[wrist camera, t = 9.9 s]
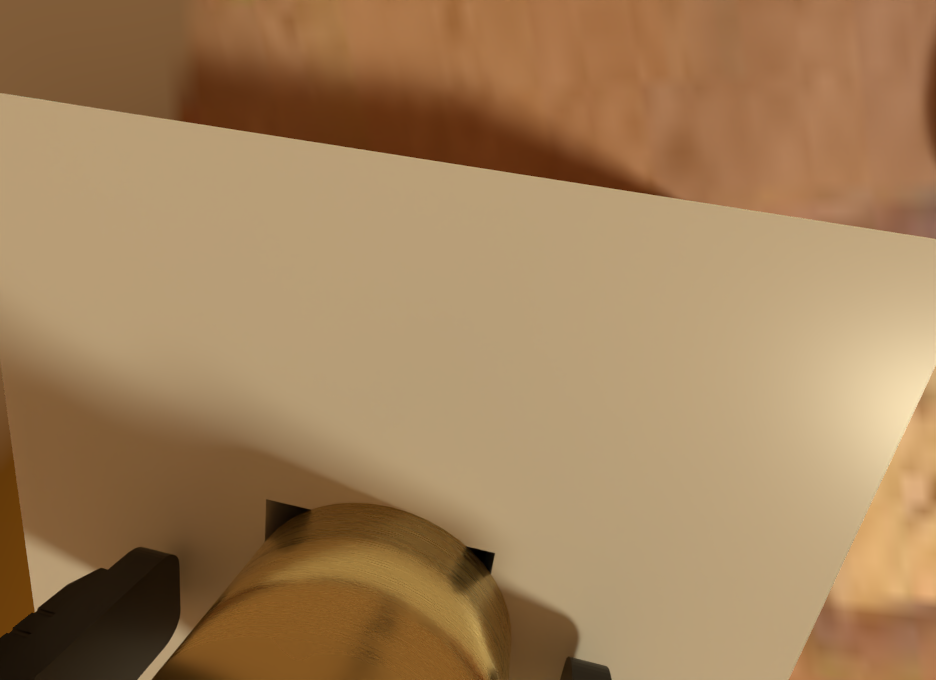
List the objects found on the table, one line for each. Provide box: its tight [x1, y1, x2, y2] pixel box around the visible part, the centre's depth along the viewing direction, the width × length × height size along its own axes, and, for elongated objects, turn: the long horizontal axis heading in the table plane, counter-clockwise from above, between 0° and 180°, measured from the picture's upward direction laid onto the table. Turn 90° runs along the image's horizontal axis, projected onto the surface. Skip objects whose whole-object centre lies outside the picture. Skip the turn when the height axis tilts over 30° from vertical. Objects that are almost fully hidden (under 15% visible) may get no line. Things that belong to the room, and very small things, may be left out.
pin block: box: [0, 93, 936, 680], centre depth 15 cm, size 18×16×10 cm
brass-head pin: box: [152, 503, 511, 680], centre depth 13 cm, size 6×6×12 cm
